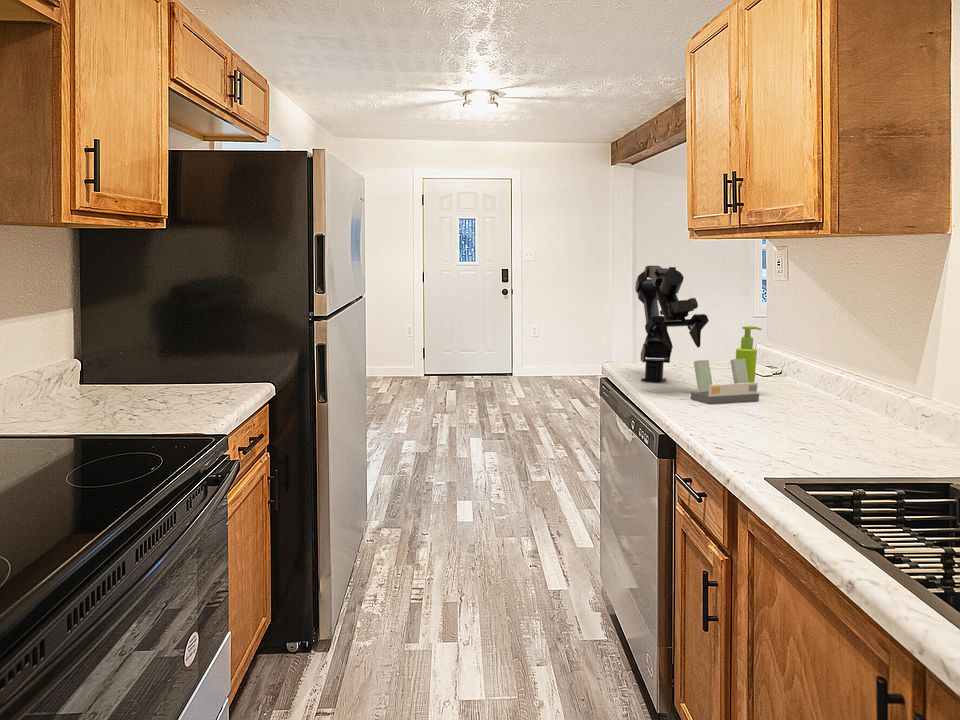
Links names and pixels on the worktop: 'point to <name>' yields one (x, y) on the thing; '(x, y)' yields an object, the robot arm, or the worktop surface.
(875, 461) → the worktop surface
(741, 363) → the hold switch
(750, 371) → the soap dispenser
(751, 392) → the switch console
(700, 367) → the flip switch
